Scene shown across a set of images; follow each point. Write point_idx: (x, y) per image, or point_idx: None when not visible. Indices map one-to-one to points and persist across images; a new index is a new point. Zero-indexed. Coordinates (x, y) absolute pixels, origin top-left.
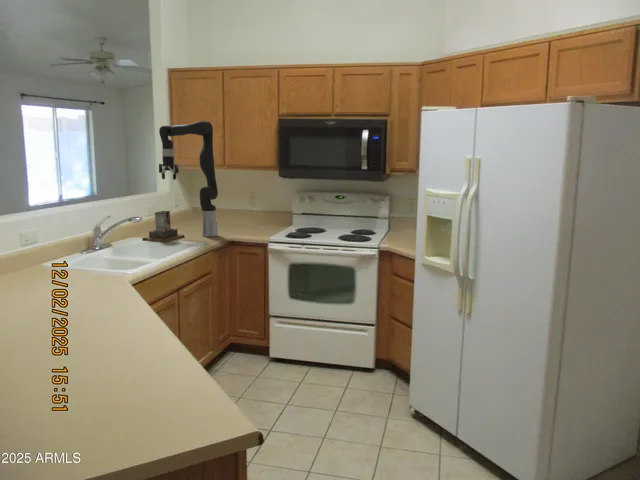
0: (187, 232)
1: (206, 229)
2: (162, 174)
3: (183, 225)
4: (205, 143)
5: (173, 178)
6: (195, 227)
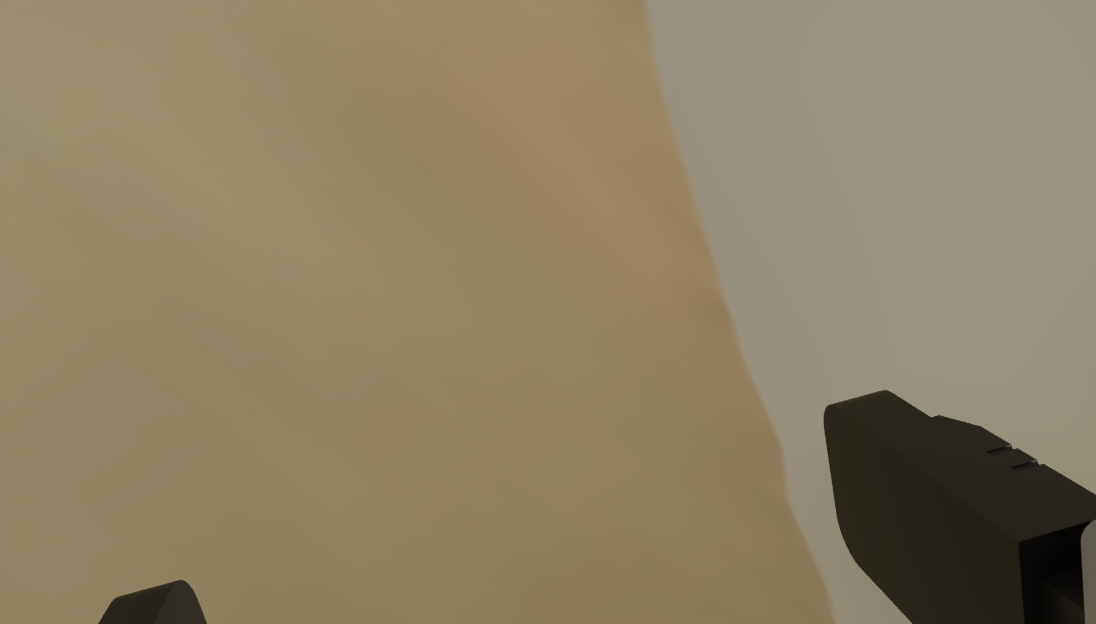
0: (174, 247)
1: None
2: (1034, 505)
3: (620, 555)
4: None
5: (129, 618)
6: (391, 553)
